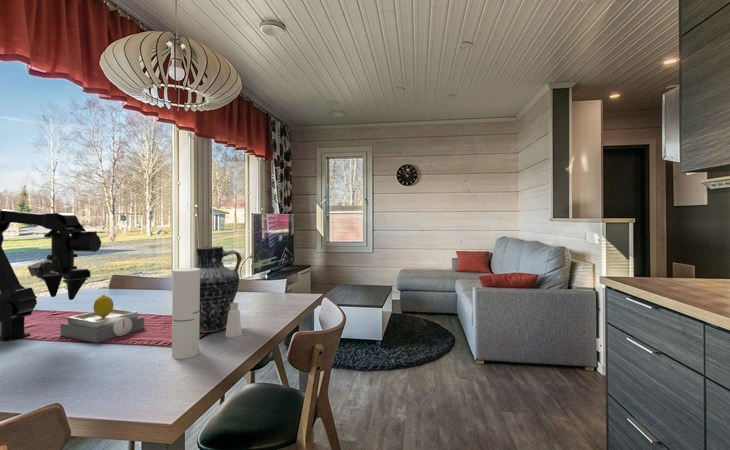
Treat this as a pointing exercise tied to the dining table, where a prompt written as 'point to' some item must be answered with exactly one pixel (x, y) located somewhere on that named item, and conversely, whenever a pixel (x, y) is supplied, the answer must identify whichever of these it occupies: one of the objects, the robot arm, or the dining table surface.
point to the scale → (102, 330)
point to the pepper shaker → (233, 321)
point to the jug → (216, 287)
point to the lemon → (103, 306)
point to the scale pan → (97, 321)
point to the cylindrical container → (185, 312)
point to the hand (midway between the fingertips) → (62, 298)
